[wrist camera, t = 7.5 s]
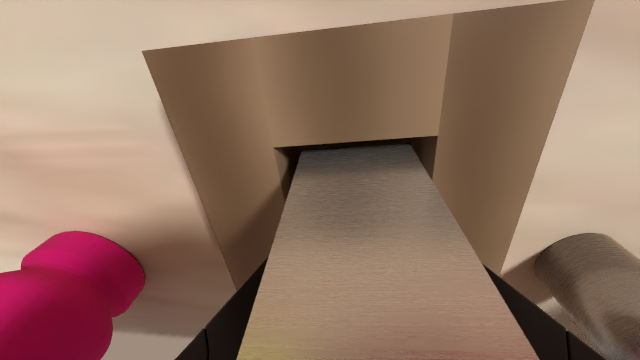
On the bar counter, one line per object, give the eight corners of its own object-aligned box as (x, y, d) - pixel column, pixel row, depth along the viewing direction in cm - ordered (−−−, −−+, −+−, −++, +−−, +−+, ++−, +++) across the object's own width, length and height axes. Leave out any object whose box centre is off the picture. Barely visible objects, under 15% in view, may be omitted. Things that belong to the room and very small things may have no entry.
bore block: (521, 5, 9) (595, -4, 6) (462, 257, 15) (488, 305, 12) (191, 44, 10) (141, 51, 8) (258, 262, 16) (243, 306, 14)
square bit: (409, 143, 10) (709, 640, 2) (403, 227, 12) (533, 637, 4) (301, 150, 10) (169, 576, 2) (313, 230, 12) (265, 604, 4)
